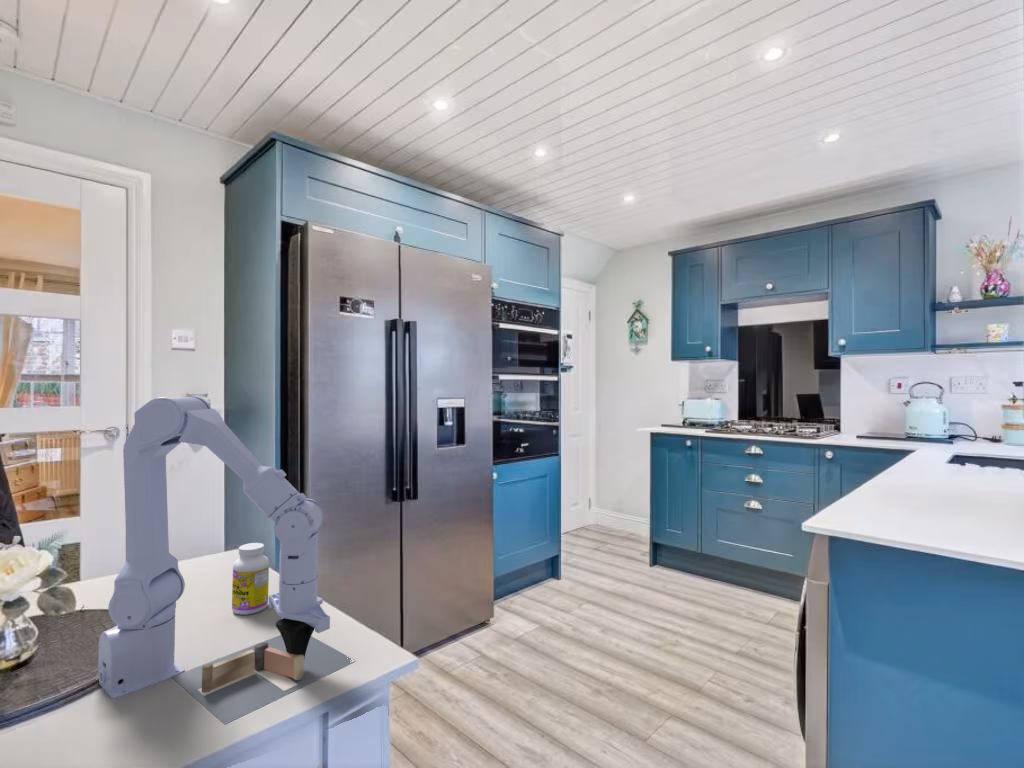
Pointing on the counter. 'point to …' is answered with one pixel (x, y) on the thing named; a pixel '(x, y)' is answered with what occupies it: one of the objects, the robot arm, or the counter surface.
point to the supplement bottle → (250, 580)
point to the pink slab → (284, 663)
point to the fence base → (233, 667)
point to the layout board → (260, 681)
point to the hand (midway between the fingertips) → (296, 662)
